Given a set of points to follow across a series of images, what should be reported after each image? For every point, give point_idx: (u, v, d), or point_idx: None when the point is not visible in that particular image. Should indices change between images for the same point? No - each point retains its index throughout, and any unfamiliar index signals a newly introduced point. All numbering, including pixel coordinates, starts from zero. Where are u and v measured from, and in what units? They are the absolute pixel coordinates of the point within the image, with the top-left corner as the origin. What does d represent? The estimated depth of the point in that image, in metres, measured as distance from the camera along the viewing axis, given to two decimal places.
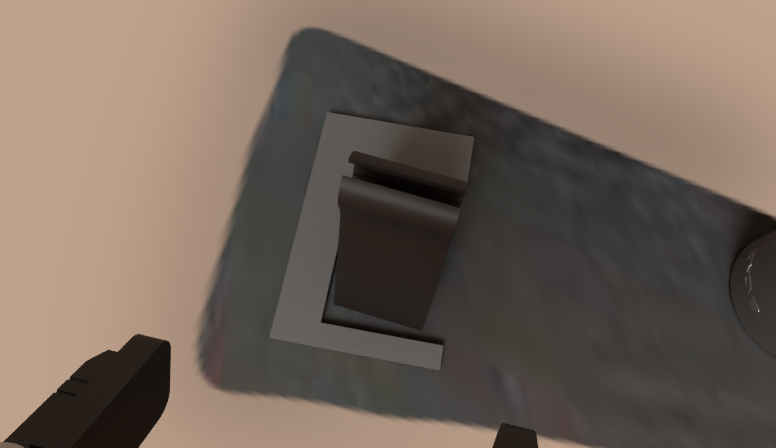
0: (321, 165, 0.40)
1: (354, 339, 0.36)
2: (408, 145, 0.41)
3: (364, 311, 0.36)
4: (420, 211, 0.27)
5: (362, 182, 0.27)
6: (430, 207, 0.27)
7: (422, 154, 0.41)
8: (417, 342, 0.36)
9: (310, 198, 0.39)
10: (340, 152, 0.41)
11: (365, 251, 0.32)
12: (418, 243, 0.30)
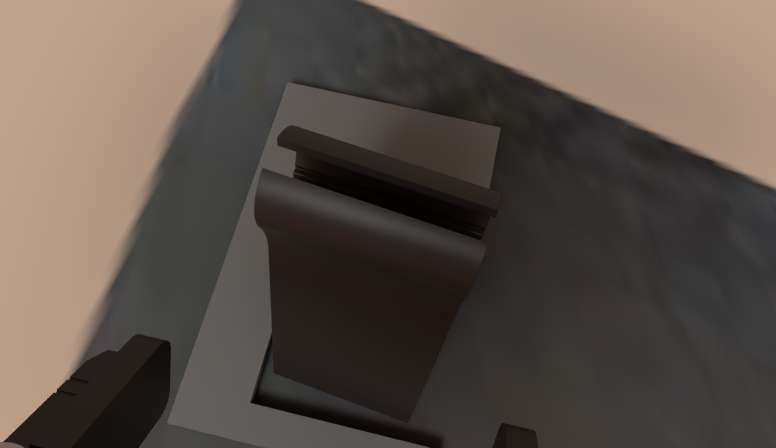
0: (273, 158, 0.27)
1: (301, 433, 0.23)
2: (403, 135, 0.28)
3: (320, 388, 0.23)
4: (407, 245, 0.14)
5: (299, 184, 0.14)
6: (428, 238, 0.14)
7: (423, 149, 0.27)
8: (400, 443, 0.23)
9: (252, 206, 0.26)
10: None
11: (315, 302, 0.18)
12: (404, 298, 0.17)
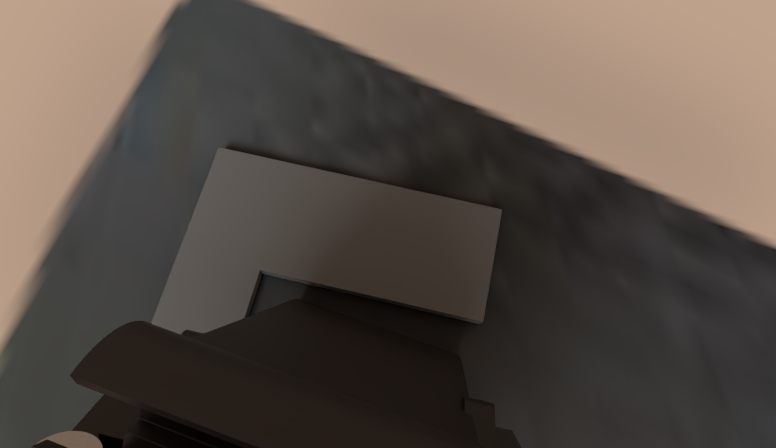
0: (194, 255, 0.20)
1: None
2: (371, 221, 0.21)
3: None
4: None
5: None
6: None
7: (398, 241, 0.20)
8: None
9: (161, 326, 0.19)
10: (235, 230, 0.20)
11: None
12: None
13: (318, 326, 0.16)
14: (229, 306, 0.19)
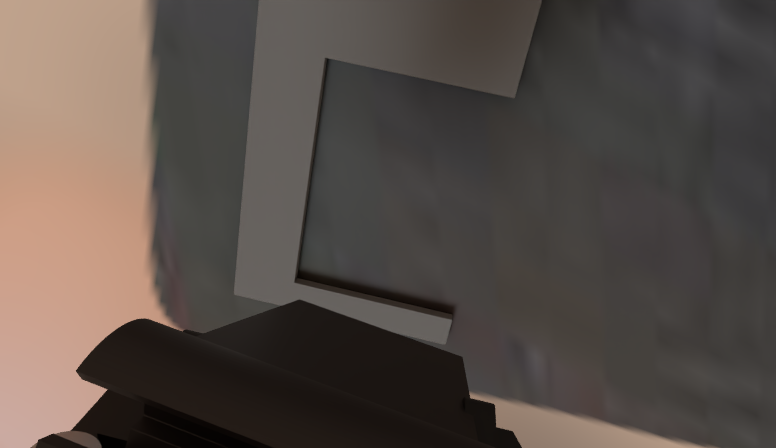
0: (269, 45, 0.24)
1: (338, 304, 0.28)
2: (418, 6, 0.22)
3: None
4: None
5: None
6: None
7: (442, 25, 0.22)
8: (418, 313, 0.28)
9: (258, 107, 0.25)
10: (297, 20, 0.23)
11: None
12: None
13: (321, 326, 0.16)
14: (305, 89, 0.24)
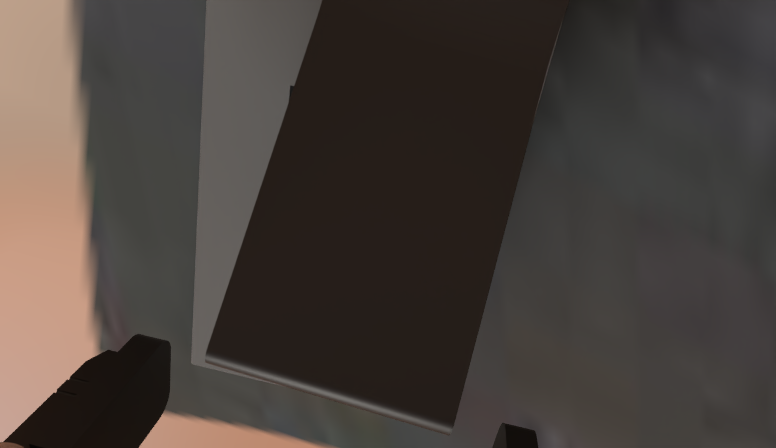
0: (221, 69, 0.19)
1: None
2: None
3: (295, 367, 0.13)
4: None
5: None
6: None
7: None
8: None
9: (211, 145, 0.20)
10: (255, 39, 0.18)
11: (354, 108, 0.14)
12: (483, 64, 0.14)
13: None
14: (268, 124, 0.19)
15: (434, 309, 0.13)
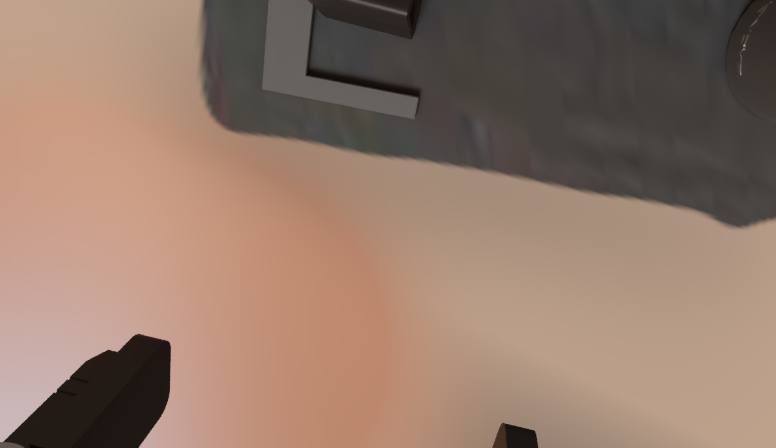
0: None
1: (337, 91, 0.39)
2: None
3: None
4: None
5: None
6: None
7: None
8: (394, 94, 0.39)
9: None
10: None
11: None
12: None
13: None
14: None
15: None
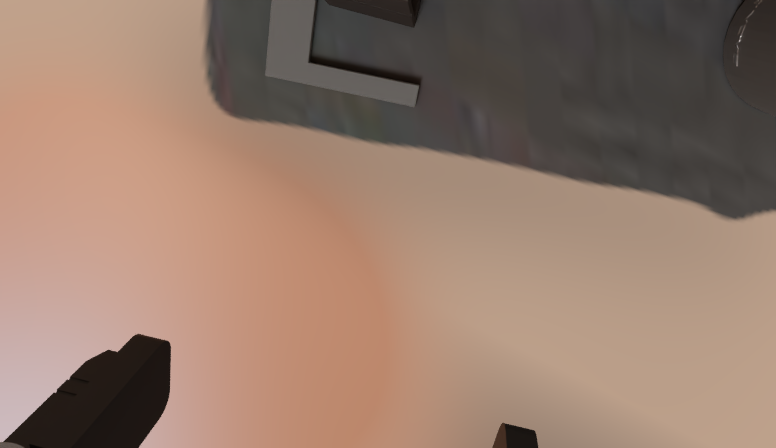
0: None
1: (339, 78, 0.40)
2: None
3: None
4: None
5: None
6: None
7: None
8: (395, 82, 0.39)
9: None
10: None
11: None
12: None
13: None
14: None
15: None
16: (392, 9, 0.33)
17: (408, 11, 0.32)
